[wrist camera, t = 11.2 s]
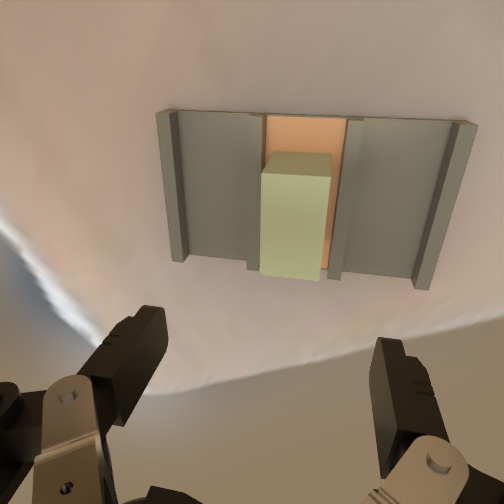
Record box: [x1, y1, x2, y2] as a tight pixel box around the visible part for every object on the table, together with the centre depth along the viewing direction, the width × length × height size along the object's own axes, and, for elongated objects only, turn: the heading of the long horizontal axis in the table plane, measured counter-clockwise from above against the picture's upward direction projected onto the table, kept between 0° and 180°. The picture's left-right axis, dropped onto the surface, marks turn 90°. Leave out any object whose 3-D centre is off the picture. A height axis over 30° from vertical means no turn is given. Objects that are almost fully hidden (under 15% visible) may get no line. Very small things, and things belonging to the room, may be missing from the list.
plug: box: [260, 151, 331, 281], centre depth 24 cm, size 4×7×6 cm, turn 0°
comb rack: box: [156, 110, 478, 290], centre depth 27 cm, size 21×12×2 cm, turn 89°
